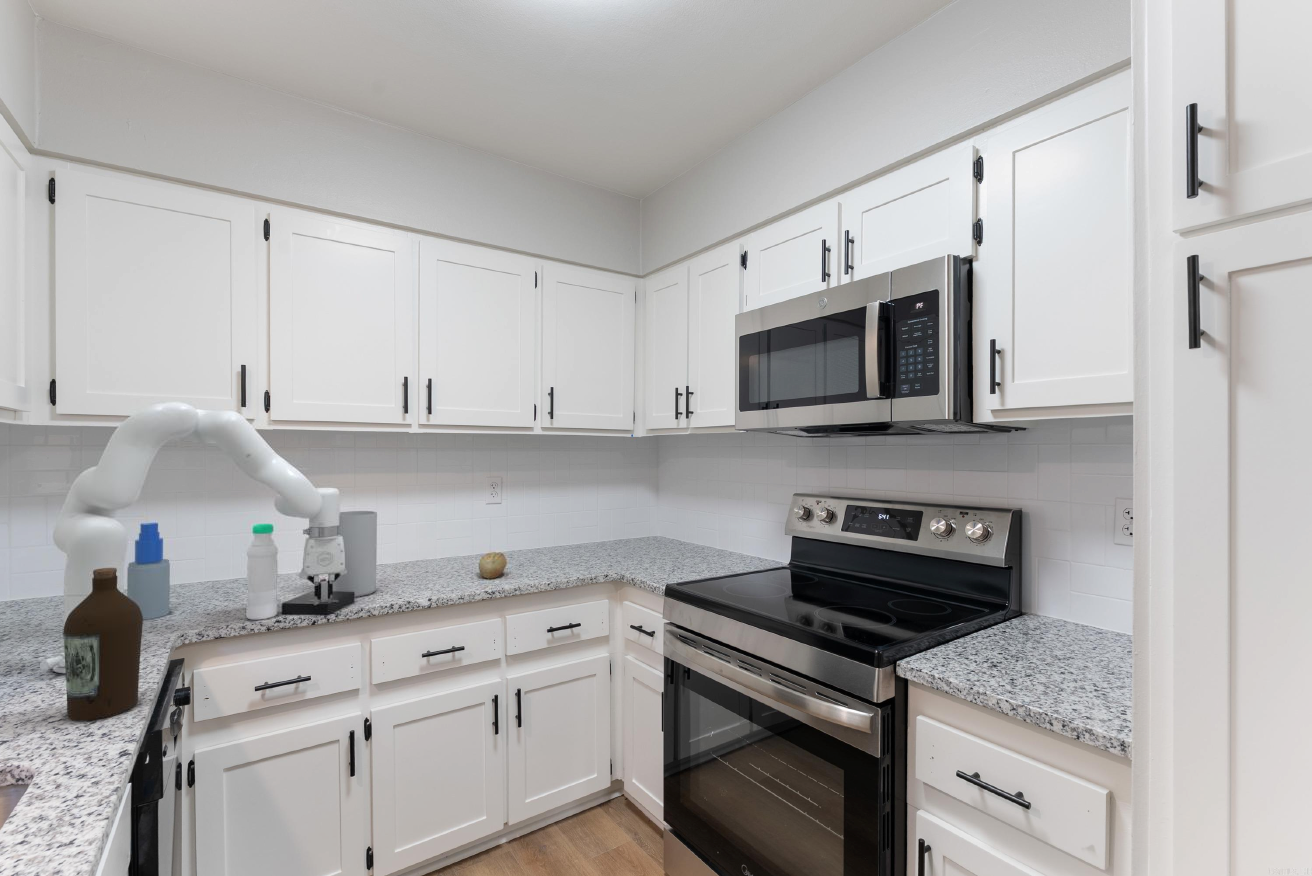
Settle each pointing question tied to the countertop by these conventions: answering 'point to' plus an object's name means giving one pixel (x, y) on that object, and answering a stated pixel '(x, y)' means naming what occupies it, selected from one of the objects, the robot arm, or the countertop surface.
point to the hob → (317, 603)
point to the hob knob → (324, 590)
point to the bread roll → (492, 565)
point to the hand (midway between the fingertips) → (323, 597)
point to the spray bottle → (149, 574)
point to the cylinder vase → (358, 552)
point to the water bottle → (262, 574)
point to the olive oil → (102, 651)
